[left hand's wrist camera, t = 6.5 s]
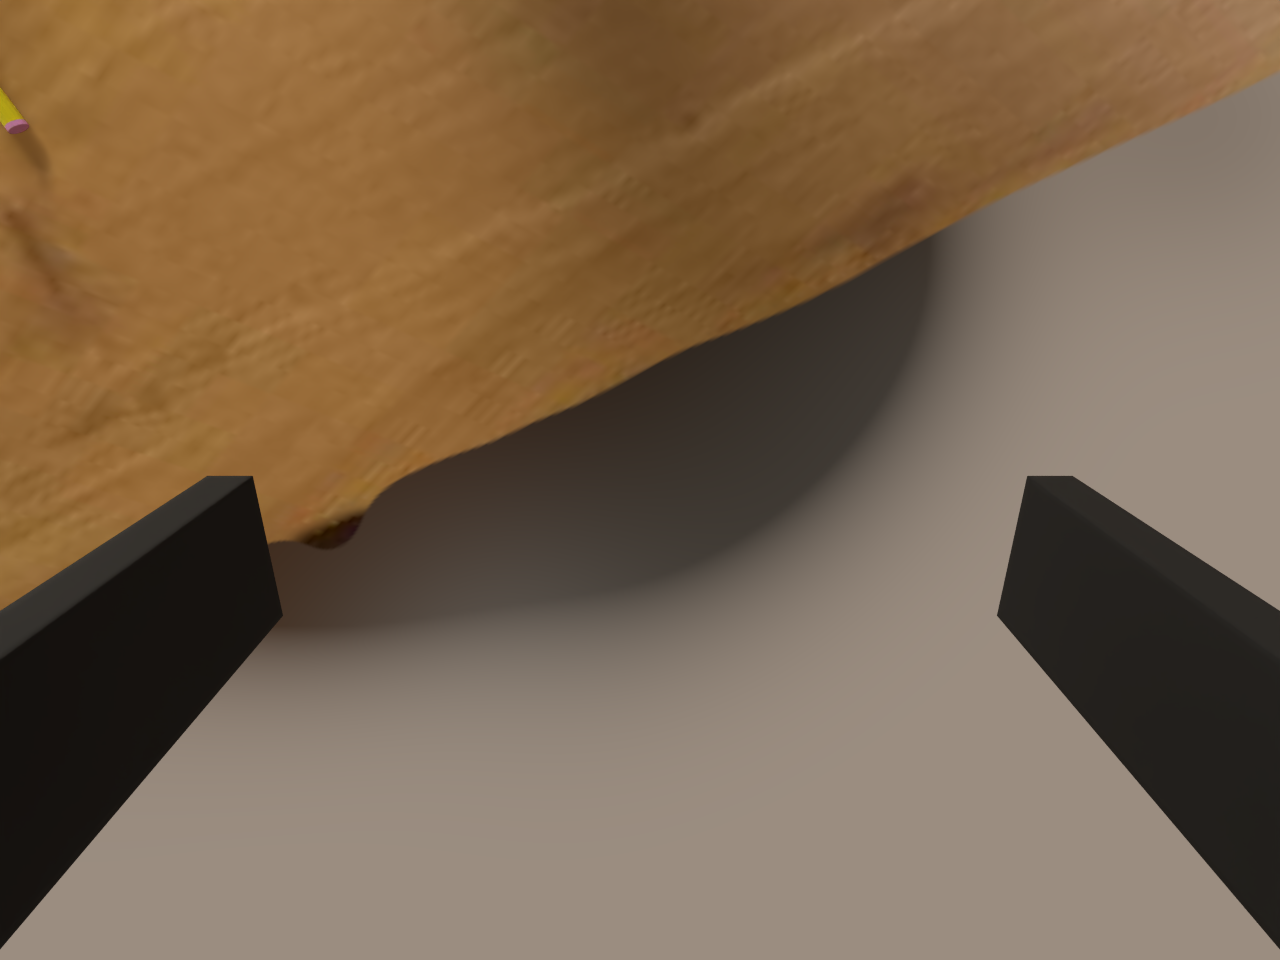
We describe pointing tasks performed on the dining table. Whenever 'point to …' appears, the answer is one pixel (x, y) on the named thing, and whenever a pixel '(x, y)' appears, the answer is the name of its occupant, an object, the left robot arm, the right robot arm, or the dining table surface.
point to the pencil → (11, 116)
